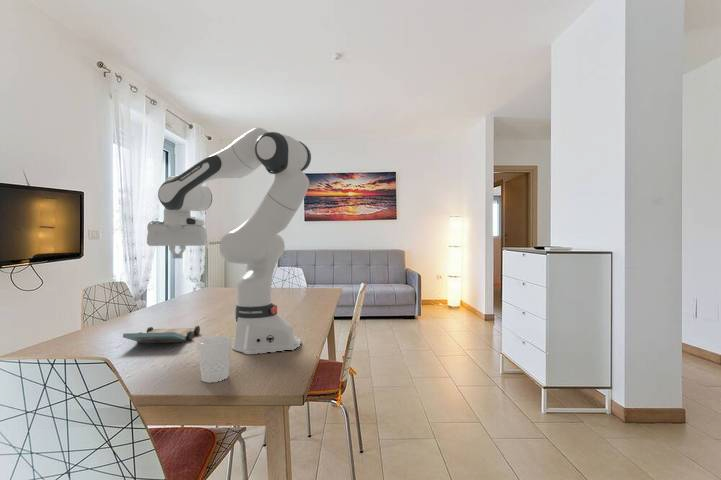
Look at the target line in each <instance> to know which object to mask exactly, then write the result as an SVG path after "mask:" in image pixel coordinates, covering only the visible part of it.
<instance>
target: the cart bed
mask: <svg viewBox="0 0 721 480" xmlns="http://www.w3.org/2000/svg"><path fill="white" fill-rule="evenodd" d="M165 332H176V333H178V334H181V335H183V336H185V337H186V339H185V340H174V341H139V342H137V344H154V343H155V344H156V343H159V344H160V343H186V342H188V341H192V340H193V337H195V336H196V335H200V333H201V326H200V325H195V326H194V327H185V328H181V327H180V328H154V327H153V326H148V327H147V329H146V333H165ZM139 333H143V332H139Z"/></svg>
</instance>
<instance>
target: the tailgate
mask: <svg viewBox="0 0 721 480" xmlns="http://www.w3.org/2000/svg"><path fill="white" fill-rule="evenodd" d="M122 338H124V339H127V340H131V341H135V342H136V343H138V342H139V341H174V340H185V339H186V337H185V336H183V335H181V334H178V333H176V332H165V333H147V332H142V333H140V332H137V333H136V332H134V333H133V332H131V333H127V332H126V333H123V335H122Z"/></svg>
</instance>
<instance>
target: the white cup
mask: <svg viewBox="0 0 721 480" xmlns="http://www.w3.org/2000/svg"><path fill="white" fill-rule="evenodd" d="M197 342H198V359H199V369H200V378H201V379H200V380H201V382H203V383H209V384H210V383H211V384H212V382H213V383H219V382H223V381H225V380H227V379H228V377H230V365H231V364H230V363H231V348H232V346H231V345H232V338H231V336H227V335H213V336H209V337H208V336H206V337H204V338H201V339H199V340H198V341H197ZM224 379H225V380H224ZM222 380H223V381H222ZM218 381H219V382H218Z"/></svg>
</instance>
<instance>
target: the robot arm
mask: <svg viewBox="0 0 721 480" xmlns="http://www.w3.org/2000/svg"><path fill="white" fill-rule="evenodd" d="M311 160H312V154H311V151H310V149H309V147H307V145H306V144H304V143H303V142H302V141H299V140H297V139H295V138H293V137H291V136H290V135H286V134H282V133H280V132H275V131H268V130H266V129H265V128H262V127H255V128H252V129H250V130H249V131H247V132H245V133H244V134H242V135H241V136H239V137H238V138H237V139H235V140H234V141H233V142H232V143H231V144H229V145H228V146H227V147H225V148H224V149H221V150H220V151H218V152H215V153H214V154H211V155H209V156H207V157H205V158H203V159H201V160H200V161H198V162H197V163H195V164H193V166H190V168H188V169H187V170H185V171H184V172H182V173H181V174H179V175H178V174H177V175H170V176H168V177H167V178H166V179H165V181H164V182H163V183H162V184H161V185H160V187H159V189H158V191H157V192H158V193H157V196H158V200H159V201H160V203H161V205H162V206H163V207H164V210H163V220H151V221H150V222H148V223H147V235H146V244H147V245H148V246H149V247H168V249H169V251H170V253H171V254H172V259H183V254H184V253H185V250H186V249H187V247H188V246H190V247H193V246H195V247H198V246H200V247H203V246H206V245H207V243H208V233H207V230H206V228H205V227H204V225H205V221H204V220H203V219H200V218H197V217H195V216H191V211H193V212H202V211H206V210H208V209H209V208H210V207H211V205H212V203H213V194H212V191H211V190H210V188H209V187H207V186H205V185H203V184H205V183H207V182H209V181H213V180H216V179H218V180H219V179H241V178H242V179H243V178H244V177H246V176H248V175H250V174H252V173H253V172H254V171H256V170H257V169H258V168H259V167H260V166H264V168H265V170H266V172H268V174H270V175H271V174H272V175H274V179H273V182H272V184H271V186H270V187H269V189H268V190H267V192H266V194H265V195H264V196H263V198H262V200H261V201H260V203H259V204H258V207H257V208H256V209H255V210H254V211H253V213H252V214H251V215H250V216H249V217H248V218H247V219H245V221H243V222H242V223H241V224H240V225H238V227H236V228H234V229H233V230H232V231H229V232H227V233H226V234H224V235H223V236H222V238H221V239H220V242H219V253H220V255H221V257H222V259H223V260H224V261H225V262H228V263H232V264H235V265H236V264H237V265H246V268H245V270H244V272H243V275H242V276H241V277H240V278H239V279H238V281H237V282H236V302H237V303H236V305H235V309H234V310H235V311H234V312H235V313H234V314H235V315H234V316H235V322H236V324H235V325H236V327H235V334H234V339H233V342H232V346H231V348H232V350H233V351H236V352H240V353H243V354H245V355H257V354H258V353H259V354H267V352H271V353H277V352H276V351H282V352H284V351H283V350H292V351H294V350H293V349H295V348H297V347H299V346H300V347H301V345H300V344H302V342H301V341H302V340H301V338H299V337H298V336H295V332H294V331H295V330H294V328H293V326H292V324H291V323H290V322H288V321H287V320H286V319H284V318H283V317H281V316H280V315H279V314H278V305H277V304H275V303H272V282H273V276H274V273H275V268H276V265H277V264H278V263H277V262H278V261H279V259H280V258H281V257H282V256H283V254H284V252H285V249H286V247H285V241H284V238H283V237H282V236H281V235H280V234H279V233H280V232H282V231H284V230H285V229H286V228H287V227H288V226H289V224H290V222H291V221H292V220H293V218H294V216H295V215H296V213H297V212H298V209H299V208H301V205H302V203H303V201H304V199H305V197H306V196H307V192H308V189H309V188H310V180H309V177H308V176H307V175H306V174H305V170H306V169H308V167H310V163H311ZM303 171H304V172H303ZM176 247H179V253H177V252H176V251H175V250H176ZM300 347H299V348H300ZM297 349H298V348H297ZM259 354H258V355H259Z"/></svg>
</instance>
